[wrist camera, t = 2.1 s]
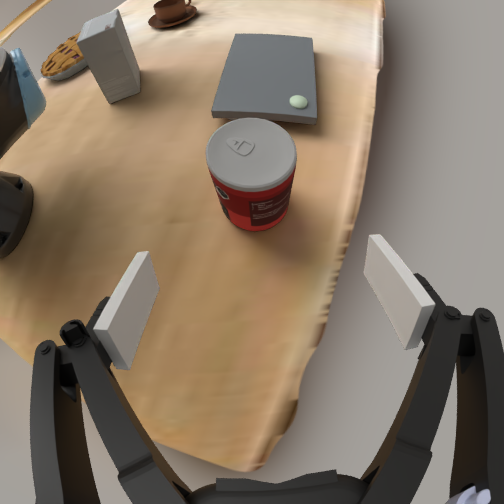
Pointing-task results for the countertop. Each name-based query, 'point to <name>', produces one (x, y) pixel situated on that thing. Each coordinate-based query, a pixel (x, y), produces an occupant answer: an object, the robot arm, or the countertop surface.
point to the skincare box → (110, 56)
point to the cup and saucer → (171, 13)
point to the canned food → (252, 171)
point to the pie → (64, 61)
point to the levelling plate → (268, 80)
